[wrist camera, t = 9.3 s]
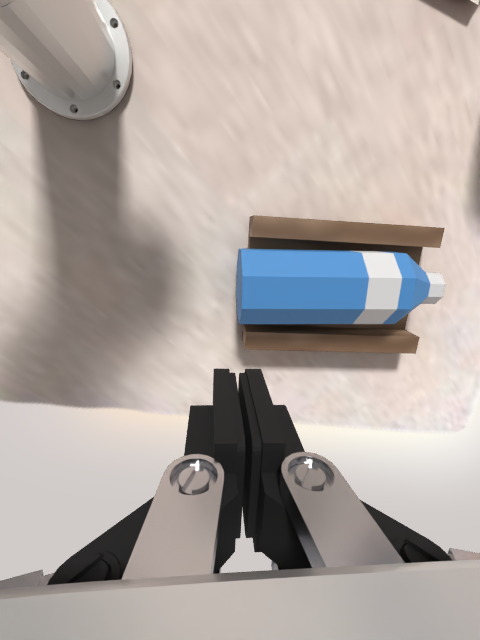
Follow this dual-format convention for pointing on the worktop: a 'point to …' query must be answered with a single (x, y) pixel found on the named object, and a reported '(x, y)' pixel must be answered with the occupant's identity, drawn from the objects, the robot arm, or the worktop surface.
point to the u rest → (336, 238)
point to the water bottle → (331, 286)
